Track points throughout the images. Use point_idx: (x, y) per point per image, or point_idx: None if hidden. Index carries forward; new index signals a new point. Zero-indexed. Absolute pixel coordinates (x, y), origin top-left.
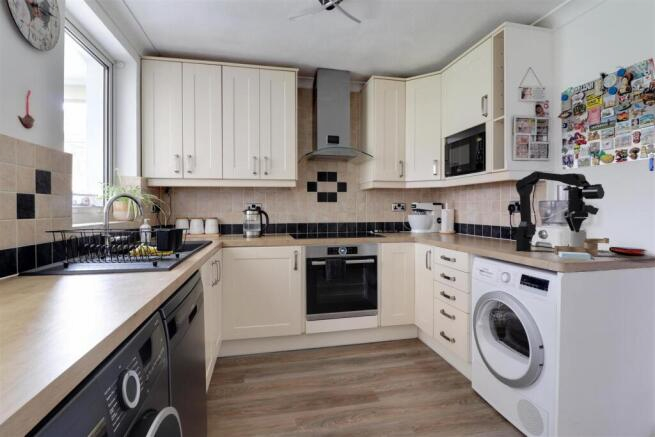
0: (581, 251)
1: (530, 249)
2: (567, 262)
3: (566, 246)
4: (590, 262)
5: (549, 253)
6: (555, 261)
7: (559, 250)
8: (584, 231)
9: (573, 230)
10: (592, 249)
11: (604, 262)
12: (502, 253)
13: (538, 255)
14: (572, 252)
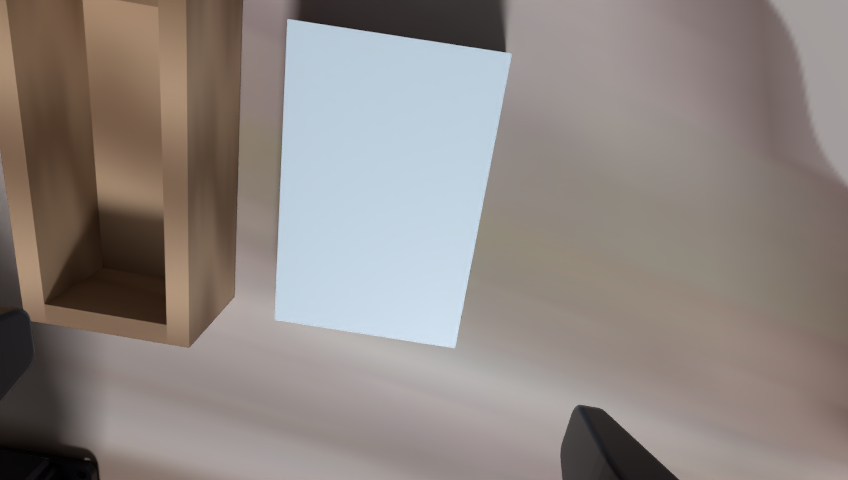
0: (214, 54)
1: (45, 463)
2: (798, 391)
3: (30, 190)
4: (782, 177)
5: None
6: (744, 462)
7: (212, 296)
8: None
9: (14, 330)
10: None
11: (769, 6)
12: None
13: (362, 469)
14: (316, 196)
